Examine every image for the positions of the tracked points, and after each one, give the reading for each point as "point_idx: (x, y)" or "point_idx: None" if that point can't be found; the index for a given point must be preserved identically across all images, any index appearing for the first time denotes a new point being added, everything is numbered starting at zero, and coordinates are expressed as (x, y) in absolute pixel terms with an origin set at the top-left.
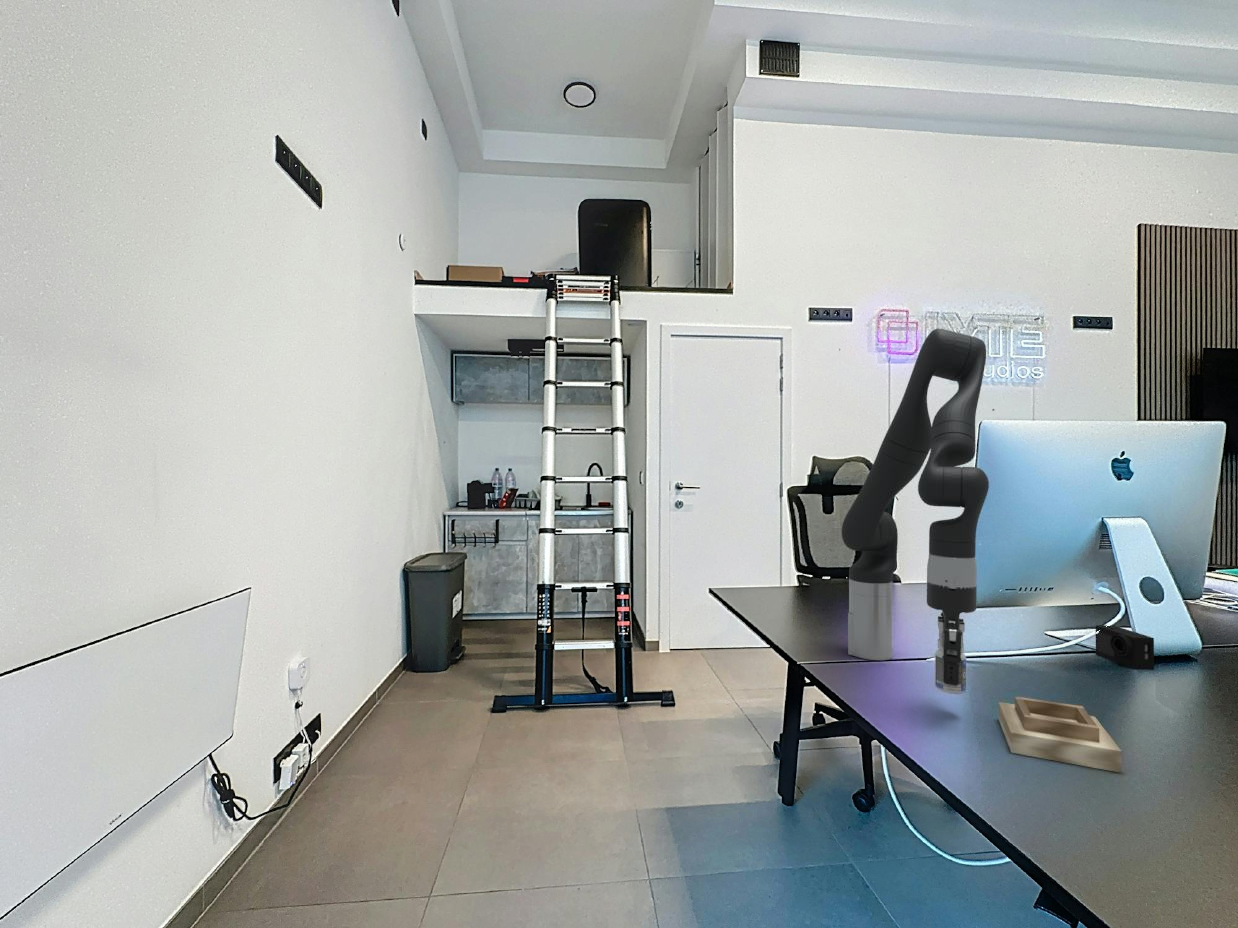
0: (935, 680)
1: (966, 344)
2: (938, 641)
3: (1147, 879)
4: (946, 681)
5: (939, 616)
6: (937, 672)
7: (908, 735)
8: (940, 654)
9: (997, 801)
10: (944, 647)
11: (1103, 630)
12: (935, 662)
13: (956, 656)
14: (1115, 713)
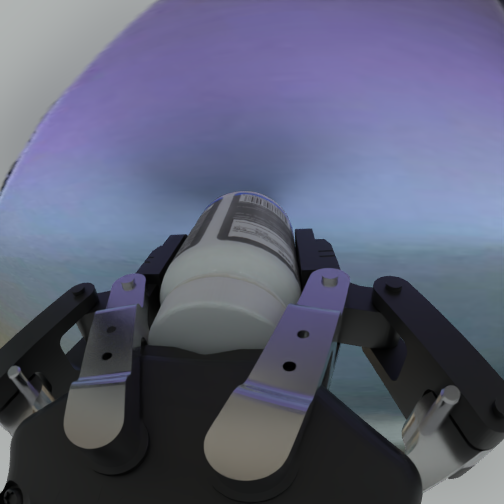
0: (224, 200)
1: None
2: (179, 304)
3: (5, 343)
4: (160, 246)
5: (236, 483)
6: (201, 220)
7: (75, 141)
8: (172, 273)
9: (3, 270)
10: (27, 325)
11: None
12: (212, 226)
13: (86, 341)
14: (386, 414)
